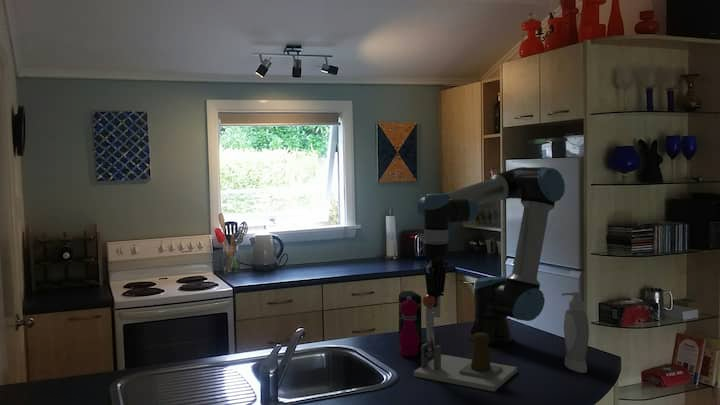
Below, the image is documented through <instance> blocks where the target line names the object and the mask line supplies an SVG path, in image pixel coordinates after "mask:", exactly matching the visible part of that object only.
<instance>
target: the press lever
mask: <svg viewBox="0 0 720 405" xmlns="http://www.w3.org/2000/svg"><path fill="white" fill-rule="evenodd" d="M435 302H436V300H435V297H434V296H433V295H430V294H428V295H427V294H426V295H424V296H423V298H422V304H423V306H425V330H426V332H425V333H426V343H427V349H426V350H425V357H426V358H428V359H431V360H433V359H434V347H436V345H435V322H434V321H435V320H434V318H435V317H434V316H433V308H432V307H433V306H434V305H435Z"/></svg>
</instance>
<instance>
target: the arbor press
mask: <svg viewBox="0 0 720 405" xmlns="http://www.w3.org/2000/svg"><path fill="white" fill-rule="evenodd" d="M420 346H421V347H420V367H418V368H417V369H415V370H414V371H413V376H414V377H416V378H421V379H427V380H432V381H437V382H442V383H448V384H453V385H458V386H464V387H469V388H472V389H473V388H474V389H478V390H484V391H489V392H496V391H497V390H498V389H499V388H500V387H502V386H503V384H505V383H506V382H507V381H508V380H510V378H512V377H513V376H514V375H515V374H516V373H517V372H518V369H517V368H518V367H517V366H512V365H506V364H500V363H495V362H490V366H491V370H490V371H487V372H478V371H474V370H472V369H471V364H472V358H471V359H470V358H465V357H459V356H453V355H448V354H447V355H446V354H442V345H435V347H434V359H431V360H429V358H426V357H425V350H426V349H427V342H425V343H424V344H423V343H422V344H421V345H420Z"/></svg>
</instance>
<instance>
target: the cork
mask: <svg viewBox="0 0 720 405" xmlns="http://www.w3.org/2000/svg"><path fill="white" fill-rule="evenodd" d="M472 340H473V341H472ZM472 340H471V341H472V343H473V350H472V356H471V359H472V364H471V369H472V370H474V371H478V372H487V371H490V370H491V366H490V363H491V359H490V352H489V351H490V350H489V345H488V343H489V341H490V338H489V335H488V334H486V333H475V334H474V335H473V337H472Z"/></svg>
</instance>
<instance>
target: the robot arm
mask: <svg viewBox="0 0 720 405" xmlns="http://www.w3.org/2000/svg"><path fill="white" fill-rule="evenodd" d="M565 187H566V184H565V180H564V177H563V175H562V173H561V172H560V171H559V170H558V169H556V168H554V167H545V166H541V167H540V166H539V167H537V166H536V167H534V166H533V167H526V166H524V167H523V166H521V167H515V168H512V169H509V170H506V171H502V172H500V173H497V174H493V175H491V177H490V178H489V179H487V180H484V181H480V182H476V183H474V184H471V185H468V186H465V187H462V188H458V189H455V190H451V191H448V192H445V193H438V192H437V193H428V194H426V195H425V196H422V197H421V198H420V199H419V200H418V201H417V205H416V209H417V210H416V211H417V214H418V215H419V216H420V217H421V218H423V220H424V231H423V234H424V239H423V240H424V242H425V243H424V244H423V247H424V249H423V250H424V252H423V254H424V255H425V256H427V265H426V266H423V272H424V276H425V277H424V278H425V285H426V287H425V288H426V295H428V294H430V295H433V296H434V297H435V300H436V302H435V305H434V306H433V307H432V308H433V316H434V318H441V297H444V292H445V286H446V285H445V284H446V278H447V276H446V275H447V268H448V265H449V263H448V262H447V261H445V256H447V255H449V244H448V242H449V225H450V224H451V223H452V224H453V223H468V222H473V221H474V220H476V219H477V218H478V215H479V205H482V204H486V203H489V202H491V201H496V200H498V201H504V200H508V199H517V200H520V203H521V205H522V206H523V212H522V218H521V223H520V228H519V233H518V239H517V245H516V249H515V254H514V255H515V257H514V259H513V260H514V261H513V267H512V271H511V274H510V275H508V276H507V277H506V276H486V277H480V278H477V279H476V280H475V282H474V289H473V291H474V319H473V322H472V325H471V328H470V330H469V340H470V341H472V342H473V340H472V337H473V335H474V334H475V333H486V334H488V335H489V338H490V341H489V343H488V346H489V345H490V346H501V345H506V344H509V343H511V342H512V337H513V336H512V332H511V329H510V326H509V323H508V318H512V319H515V320H518V321H523V322H524V321H525V322H531V321H534V320H535V319H536V318H537V317H539V316H540V315H541V313H542V312H543V309H544V307H545V297H544V293H543V291H542V290H541V289H540V288H541V283H540V282H539V280H538V279H537V278H538V274H539V270H540V269H539V267H540V262H541V256H542V251H543V244H544V240H545V235H546V229H547V225H548V224H547V223H548V219H549V218H548V217H549V213H550V211H552V210H554V209H555V205H556V202H558V201H560V200H561V199H562V198H563V196H564V194H565V190H566V189H565Z"/></svg>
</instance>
